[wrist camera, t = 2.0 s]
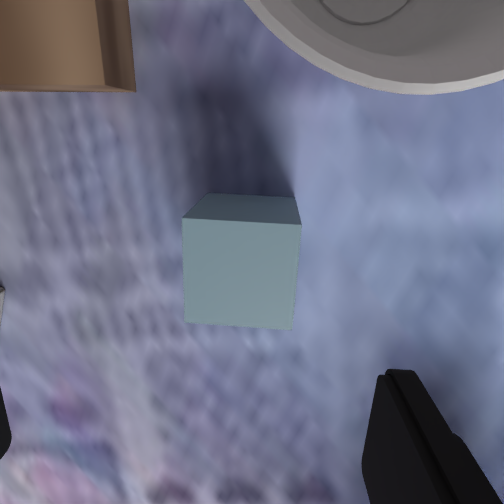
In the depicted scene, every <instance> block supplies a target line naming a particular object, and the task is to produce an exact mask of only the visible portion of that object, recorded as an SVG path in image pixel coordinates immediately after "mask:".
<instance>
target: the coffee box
mask: <svg viewBox="0 0 504 504" xmlns="http://www.w3.org/2000/svg"><path fill="white" fill-rule="evenodd" d="M4 295H5V289H4V288H2V287H0V326H1V318H2V310H3V302H4Z"/></svg>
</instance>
